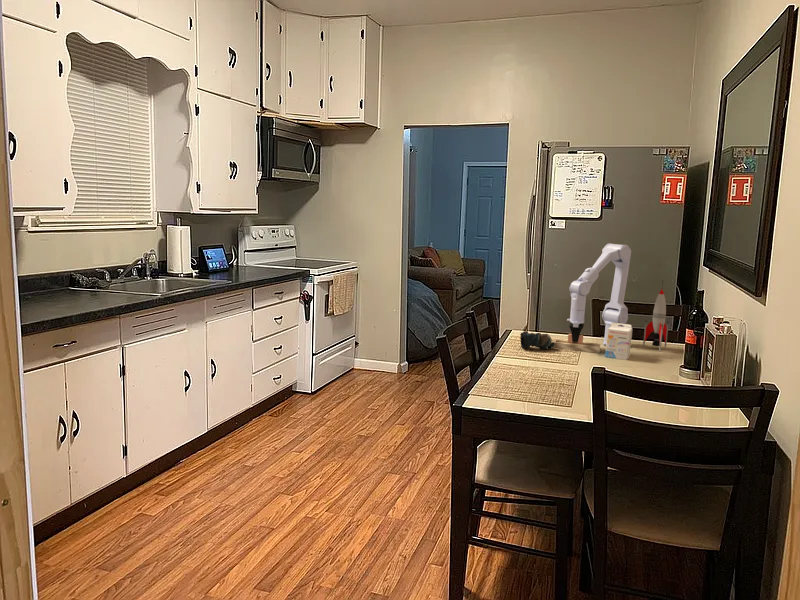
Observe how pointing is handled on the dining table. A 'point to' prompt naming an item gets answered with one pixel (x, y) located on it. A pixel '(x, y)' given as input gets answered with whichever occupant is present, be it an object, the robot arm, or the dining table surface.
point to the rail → (576, 346)
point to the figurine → (536, 340)
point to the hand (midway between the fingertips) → (575, 341)
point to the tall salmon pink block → (578, 340)
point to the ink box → (618, 341)
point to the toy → (657, 322)
